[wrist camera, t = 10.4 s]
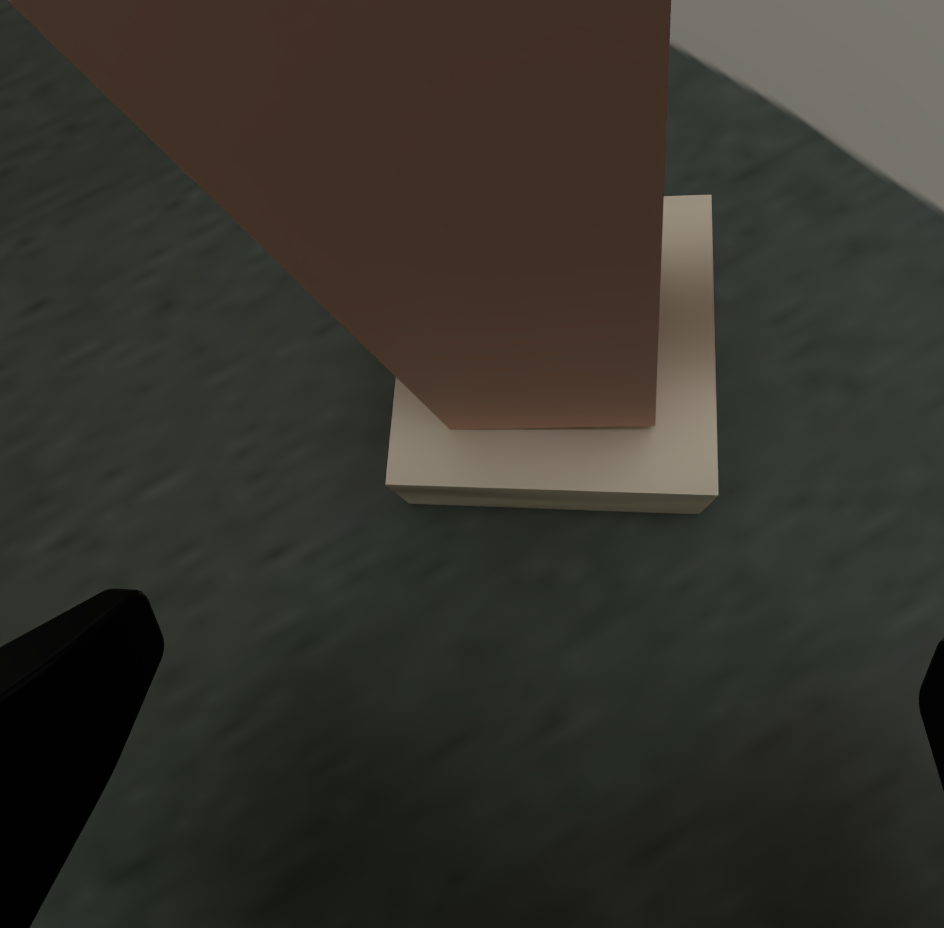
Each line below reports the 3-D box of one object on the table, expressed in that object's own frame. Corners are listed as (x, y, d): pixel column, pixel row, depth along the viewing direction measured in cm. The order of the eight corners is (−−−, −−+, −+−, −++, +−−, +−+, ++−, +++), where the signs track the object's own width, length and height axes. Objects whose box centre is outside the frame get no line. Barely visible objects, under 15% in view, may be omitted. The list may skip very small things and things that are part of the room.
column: (655, 425, 16) (678, -257, 4) (449, 429, 17) (-59, -64, 5) (653, 233, 17) (668, -806, 5) (460, 250, 18) (67, -529, 6)
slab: (696, 517, 19) (718, 495, 16) (413, 506, 20) (385, 484, 17) (691, 257, 20) (711, 194, 18) (433, 262, 22) (412, 204, 19)
